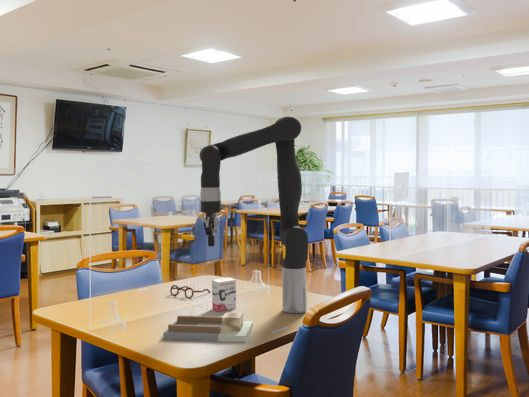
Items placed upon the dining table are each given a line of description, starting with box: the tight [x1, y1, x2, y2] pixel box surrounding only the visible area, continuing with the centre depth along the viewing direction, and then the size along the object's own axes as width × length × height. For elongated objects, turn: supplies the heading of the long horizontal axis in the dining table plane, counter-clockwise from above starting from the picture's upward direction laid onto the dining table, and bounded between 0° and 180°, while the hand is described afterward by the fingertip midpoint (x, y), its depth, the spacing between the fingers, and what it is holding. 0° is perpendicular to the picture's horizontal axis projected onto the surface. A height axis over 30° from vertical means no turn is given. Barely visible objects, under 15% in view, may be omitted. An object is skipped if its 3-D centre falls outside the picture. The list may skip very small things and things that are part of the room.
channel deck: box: [162, 314, 254, 343], centre depth 175 cm, size 28×16×4 cm, turn 83°
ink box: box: [211, 277, 237, 312], centre depth 205 cm, size 8×5×12 cm, turn 123°
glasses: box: [170, 284, 212, 299], centre depth 230 cm, size 13×13×5 cm
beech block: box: [221, 312, 244, 331], centre depth 173 cm, size 6×6×4 cm
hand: (211, 245), depth 192 cm, fingers closed
